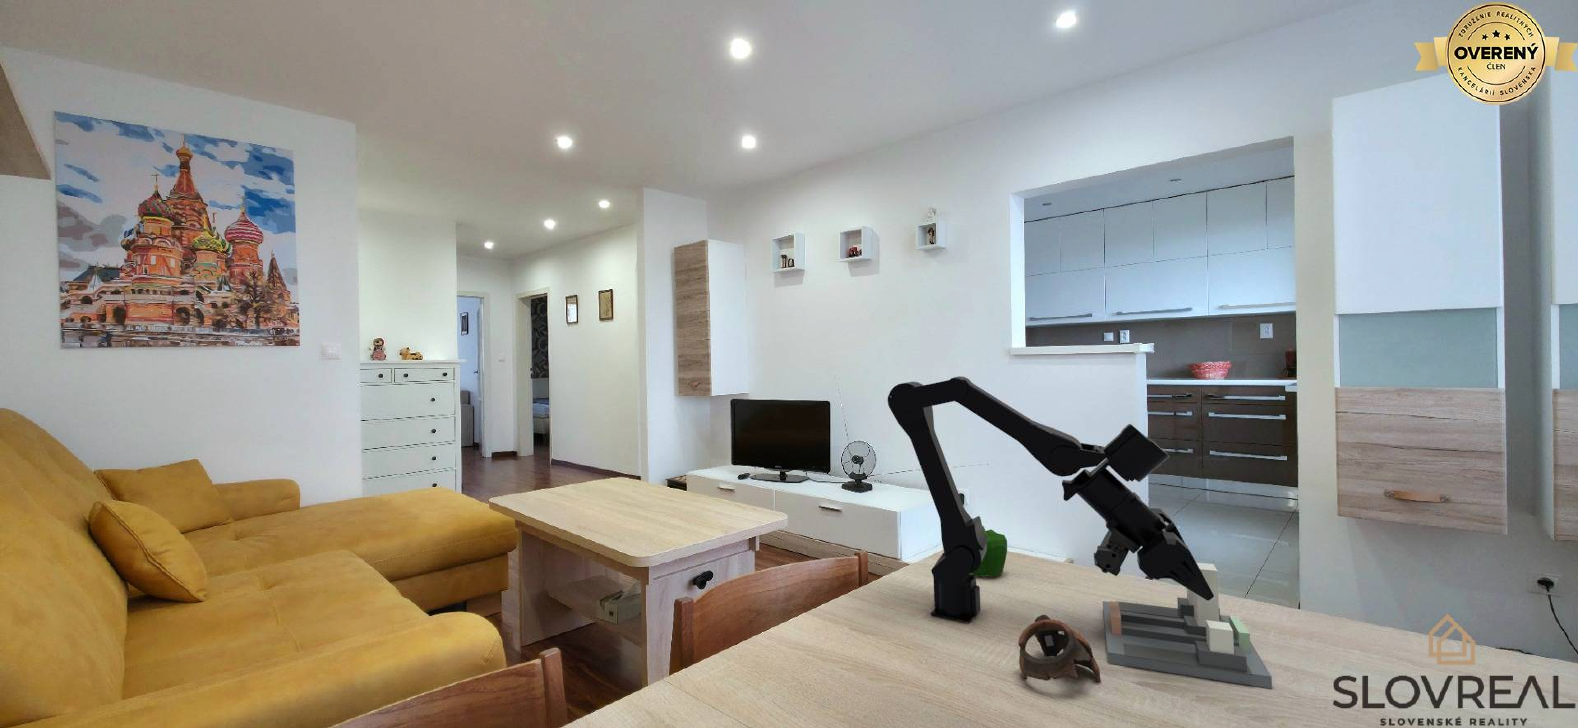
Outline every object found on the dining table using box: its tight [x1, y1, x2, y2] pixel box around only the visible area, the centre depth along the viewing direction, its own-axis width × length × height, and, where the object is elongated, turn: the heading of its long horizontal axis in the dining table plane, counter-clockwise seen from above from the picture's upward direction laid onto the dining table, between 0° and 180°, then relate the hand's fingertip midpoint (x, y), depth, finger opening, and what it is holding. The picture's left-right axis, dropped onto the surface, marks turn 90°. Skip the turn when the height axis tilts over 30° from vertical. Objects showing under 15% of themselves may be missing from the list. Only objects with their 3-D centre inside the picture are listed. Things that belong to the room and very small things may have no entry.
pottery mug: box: [1018, 614, 1102, 683], centre depth 82 cm, size 12×10×8 cm
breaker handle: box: [1184, 562, 1226, 636], centre depth 87 cm, size 5×4×10 cm
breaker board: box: [1102, 588, 1273, 689], centre depth 88 cm, size 18×20×6 cm
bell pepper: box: [970, 525, 1008, 578], centre depth 120 cm, size 8×8×10 cm
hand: (1204, 586), depth 87 cm, fingers open, 9 cm apart
